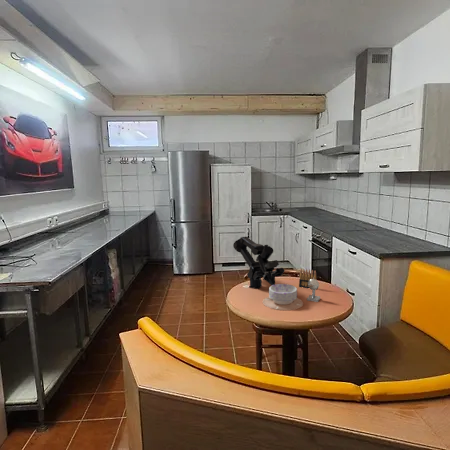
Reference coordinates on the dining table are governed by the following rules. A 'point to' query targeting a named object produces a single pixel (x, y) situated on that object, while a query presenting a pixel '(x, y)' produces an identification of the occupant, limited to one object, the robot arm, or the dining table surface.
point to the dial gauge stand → (313, 290)
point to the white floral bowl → (283, 293)
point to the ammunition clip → (306, 278)
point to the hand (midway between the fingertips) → (274, 286)
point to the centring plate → (292, 306)
